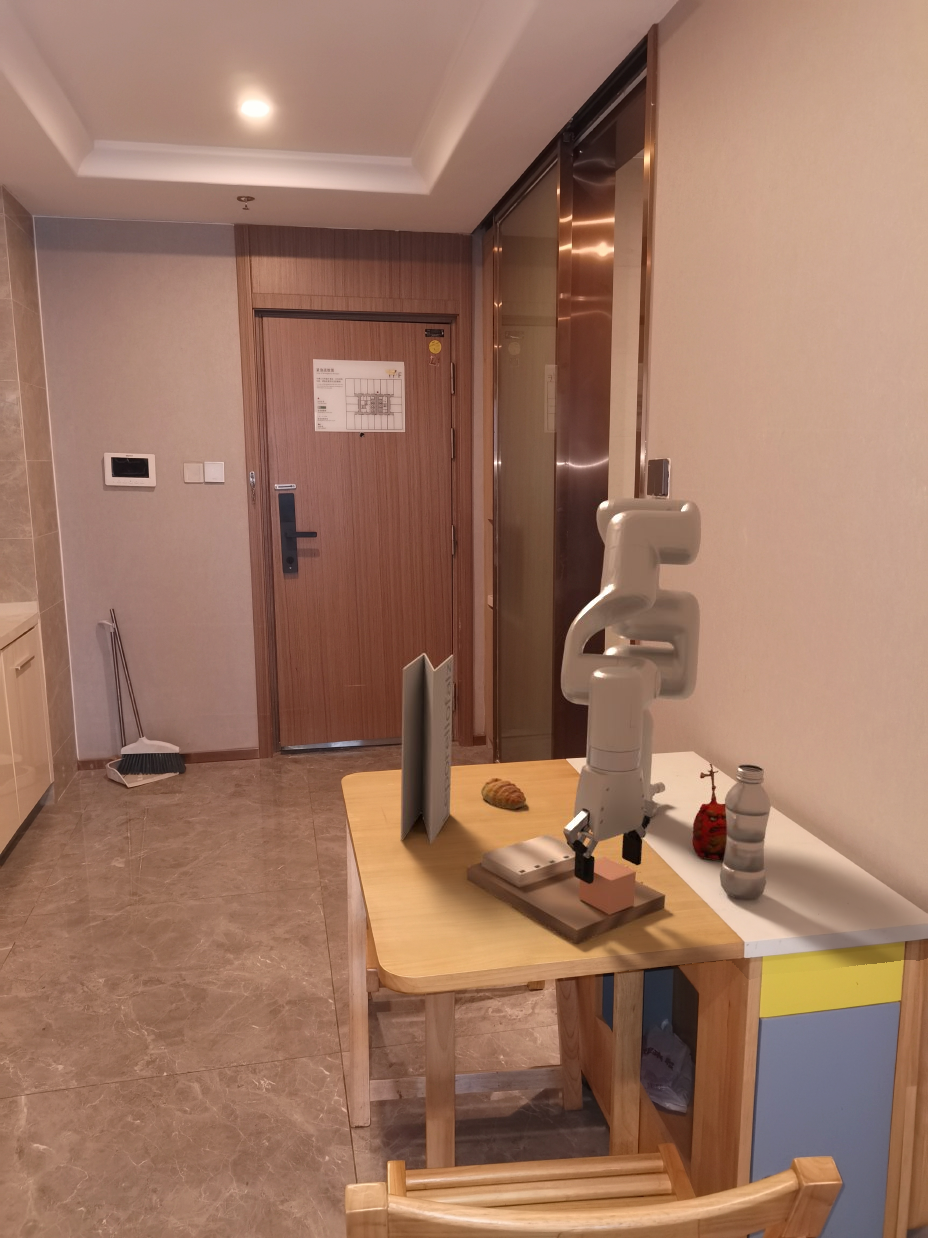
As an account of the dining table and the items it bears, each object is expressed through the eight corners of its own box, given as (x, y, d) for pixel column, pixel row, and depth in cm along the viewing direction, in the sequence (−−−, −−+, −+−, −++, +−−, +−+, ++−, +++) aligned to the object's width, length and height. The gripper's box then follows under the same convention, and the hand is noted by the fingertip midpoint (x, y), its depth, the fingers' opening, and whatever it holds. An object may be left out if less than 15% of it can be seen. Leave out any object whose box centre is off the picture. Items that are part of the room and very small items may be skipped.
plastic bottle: (758, 909, 132) (769, 778, 129) (712, 897, 136) (721, 769, 132) (769, 892, 137) (779, 766, 134) (725, 881, 141) (734, 758, 138)
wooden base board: (552, 852, 150) (553, 829, 150) (664, 908, 132) (665, 881, 131) (467, 879, 140) (467, 854, 139) (576, 944, 121) (577, 915, 120)
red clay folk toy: (700, 864, 147) (706, 776, 145) (683, 846, 154) (689, 762, 152) (744, 862, 148) (750, 774, 146) (725, 845, 155) (731, 761, 153)
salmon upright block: (603, 889, 132) (604, 857, 132) (633, 905, 128) (635, 871, 127) (578, 898, 129) (580, 865, 129) (609, 914, 125) (611, 880, 124)
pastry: (534, 806, 172) (535, 787, 171) (507, 814, 168) (508, 794, 167) (503, 792, 179) (503, 774, 179) (476, 799, 175) (477, 780, 175)
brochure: (431, 843, 153) (435, 671, 148) (400, 840, 154) (402, 668, 149) (449, 813, 167) (453, 654, 162) (421, 811, 168) (423, 653, 163)
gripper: (635, 738, 133) (629, 846, 137) (549, 760, 123) (545, 877, 126) (675, 752, 128) (668, 864, 131) (588, 777, 117) (583, 898, 120)
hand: (608, 870), depth 128 cm, fingers open, 9 cm apart
